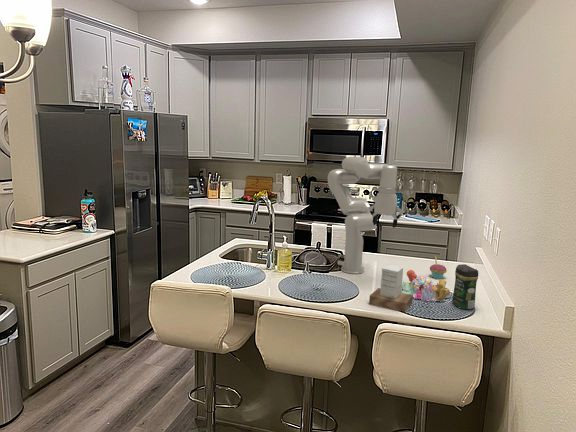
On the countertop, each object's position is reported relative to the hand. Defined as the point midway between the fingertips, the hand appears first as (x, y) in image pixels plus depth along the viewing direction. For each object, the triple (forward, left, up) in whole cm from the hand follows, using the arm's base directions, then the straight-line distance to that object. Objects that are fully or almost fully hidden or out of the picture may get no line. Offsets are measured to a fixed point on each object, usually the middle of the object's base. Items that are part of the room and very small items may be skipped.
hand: (384, 225), depth 215 cm
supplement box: (+12, -22, -26) cm, 36 cm away
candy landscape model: (+21, +1, -31) cm, 37 cm away
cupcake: (+22, +30, -30) cm, 48 cm away
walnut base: (+12, -22, -30) cm, 39 cm away
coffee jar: (+40, -6, -30) cm, 51 cm away
